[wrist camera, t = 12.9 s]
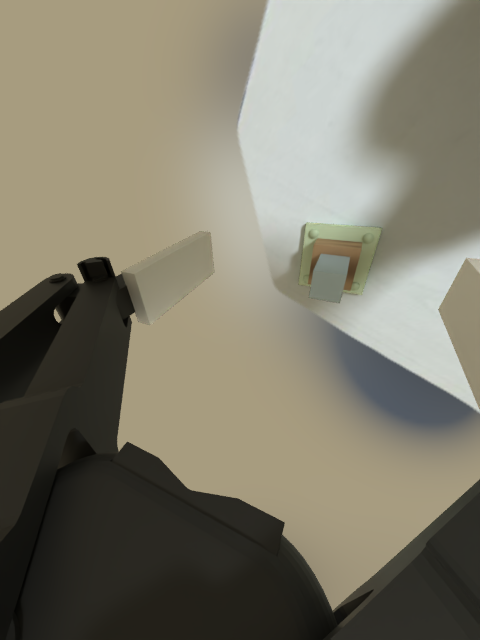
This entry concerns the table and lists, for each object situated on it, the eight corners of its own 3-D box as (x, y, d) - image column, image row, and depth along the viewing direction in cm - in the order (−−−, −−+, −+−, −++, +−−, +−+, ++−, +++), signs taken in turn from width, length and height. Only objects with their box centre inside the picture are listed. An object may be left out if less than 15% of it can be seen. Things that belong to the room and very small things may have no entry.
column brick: (320, 253, 44) (313, 270, 38) (350, 256, 42) (346, 275, 36) (316, 278, 47) (308, 297, 41) (343, 282, 45) (339, 303, 39)
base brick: (317, 238, 46) (313, 244, 44) (362, 242, 44) (361, 249, 41) (311, 275, 51) (307, 284, 48) (351, 281, 48) (350, 290, 45)
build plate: (307, 222, 47) (305, 224, 46) (381, 227, 42) (381, 229, 41) (299, 282, 54) (298, 285, 53) (361, 292, 50) (361, 295, 49)
